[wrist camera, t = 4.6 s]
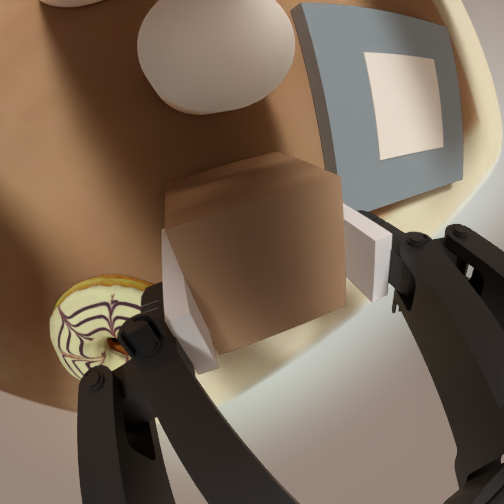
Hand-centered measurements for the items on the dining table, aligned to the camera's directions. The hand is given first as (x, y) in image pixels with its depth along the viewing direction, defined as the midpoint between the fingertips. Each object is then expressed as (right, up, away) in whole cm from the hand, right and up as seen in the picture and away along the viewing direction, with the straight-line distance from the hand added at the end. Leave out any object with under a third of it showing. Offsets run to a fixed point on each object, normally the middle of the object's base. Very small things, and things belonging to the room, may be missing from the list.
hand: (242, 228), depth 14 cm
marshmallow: (-2, +9, -2) cm, 9 cm away
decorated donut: (-9, -7, +5) cm, 12 cm away
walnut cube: (0, +1, +1) cm, 1 cm away
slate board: (+11, +10, +2) cm, 15 cm away
